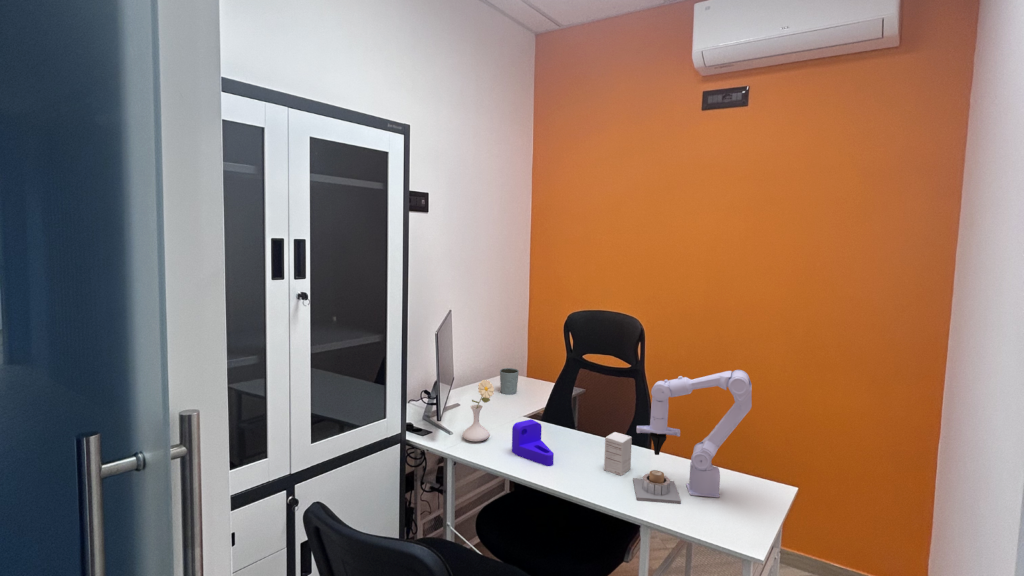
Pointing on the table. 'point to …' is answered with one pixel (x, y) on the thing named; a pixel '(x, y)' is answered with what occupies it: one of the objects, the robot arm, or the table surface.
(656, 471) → the walnut cap
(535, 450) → the bracket
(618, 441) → the supplement box
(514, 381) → the green cylindrical pot
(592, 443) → the table surface
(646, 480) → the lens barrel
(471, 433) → the flower in vase
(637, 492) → the mount plate
